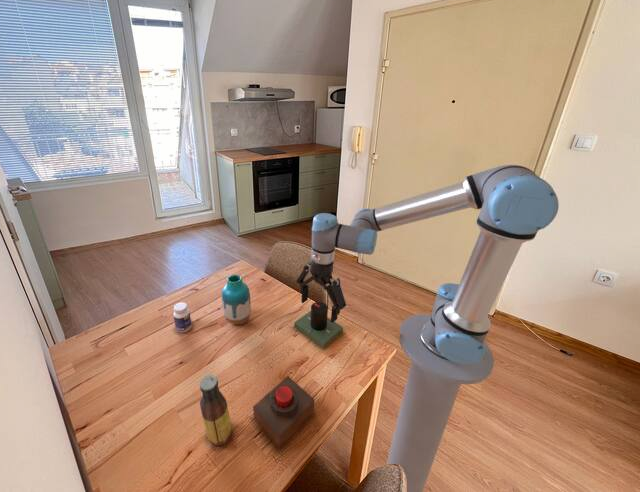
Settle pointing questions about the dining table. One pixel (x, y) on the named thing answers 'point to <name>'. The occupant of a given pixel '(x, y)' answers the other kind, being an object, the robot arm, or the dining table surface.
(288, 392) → the light button
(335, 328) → the panel
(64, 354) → the dining table surface
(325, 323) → the dimmer knob
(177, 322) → the pill bottle
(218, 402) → the sauce bottle
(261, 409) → the switch box
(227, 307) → the vase
